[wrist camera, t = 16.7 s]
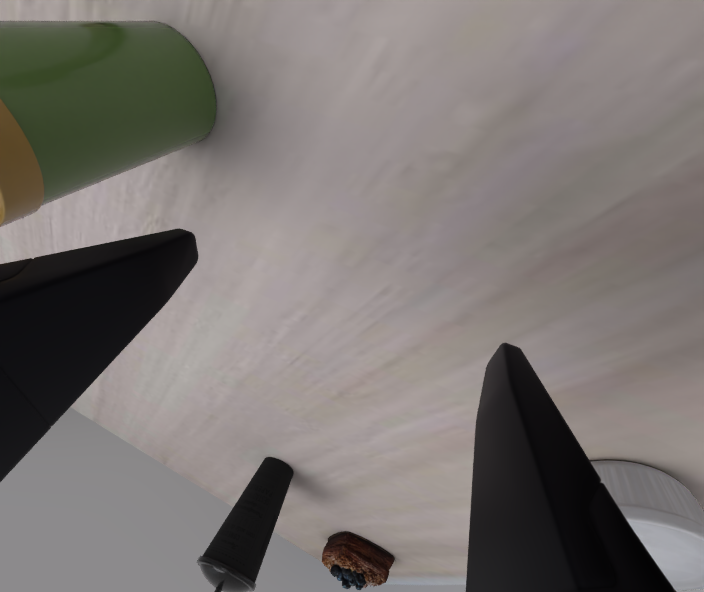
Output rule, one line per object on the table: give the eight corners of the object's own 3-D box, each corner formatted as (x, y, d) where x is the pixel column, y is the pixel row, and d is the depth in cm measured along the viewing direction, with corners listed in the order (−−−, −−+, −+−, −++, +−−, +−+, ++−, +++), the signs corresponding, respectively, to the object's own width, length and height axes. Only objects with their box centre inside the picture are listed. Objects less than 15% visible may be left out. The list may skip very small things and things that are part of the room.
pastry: (401, 557, 58) (393, 601, 54) (372, 566, 66) (363, 604, 62) (344, 527, 58) (332, 568, 54) (322, 539, 66) (309, 576, 62)
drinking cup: (270, 446, 48) (168, 638, 33) (311, 476, 50) (233, 671, 35) (247, 457, 53) (150, 628, 38) (286, 483, 54) (207, 657, 39)
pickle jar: (164, -12, 18) (-196, -48, 9) (239, 119, 21) (32, 197, 12) (101, 57, 21) (-205, 85, 12) (174, 161, 24) (-27, 249, 15)
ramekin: (679, 443, 25) (713, 521, 21) (723, 522, 29) (759, 601, 25) (523, 457, 32) (527, 518, 28) (574, 519, 35) (584, 582, 31)
